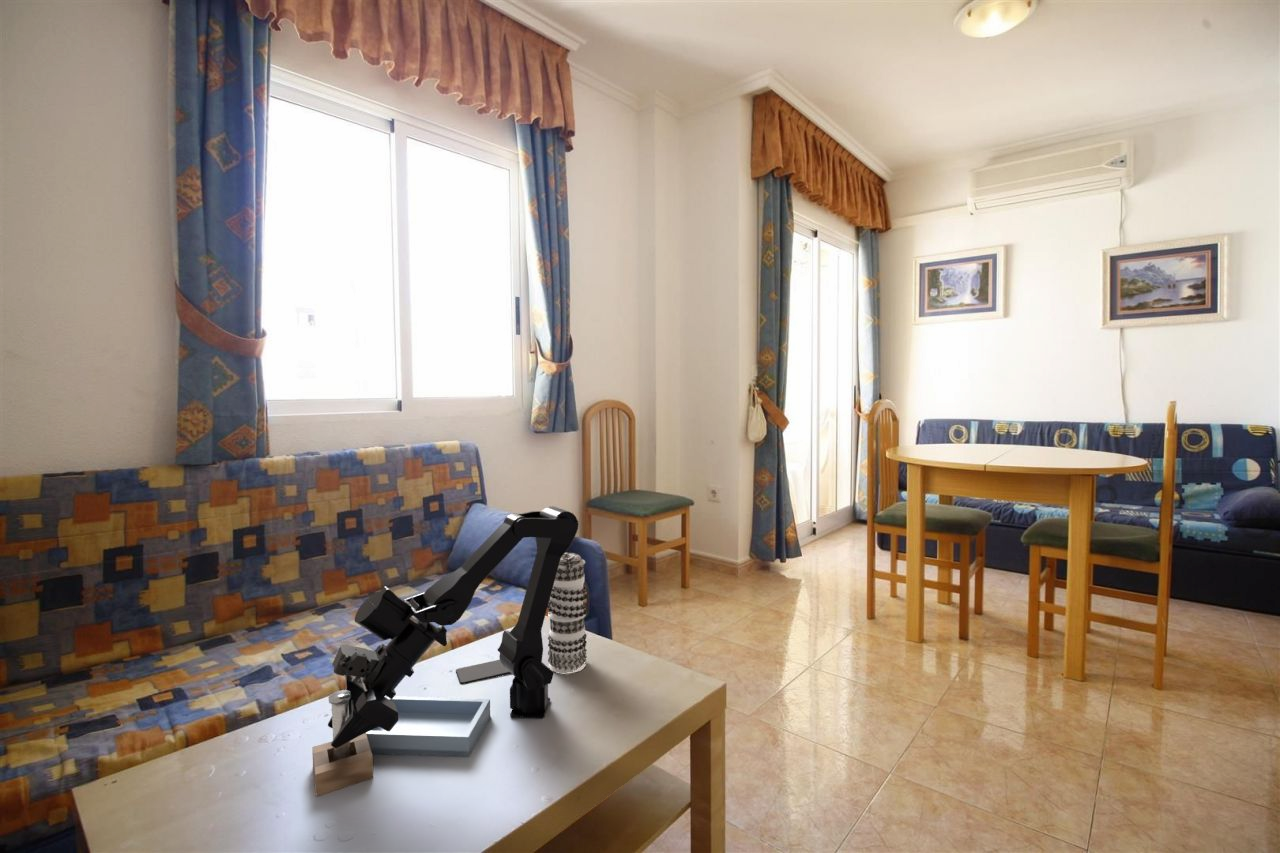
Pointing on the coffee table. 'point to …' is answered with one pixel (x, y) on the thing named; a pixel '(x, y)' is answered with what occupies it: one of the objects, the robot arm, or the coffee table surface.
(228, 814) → the coffee table surface
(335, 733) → the metal pin
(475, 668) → the smartphone
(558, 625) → the decorative candle
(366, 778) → the pin block
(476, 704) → the tray
